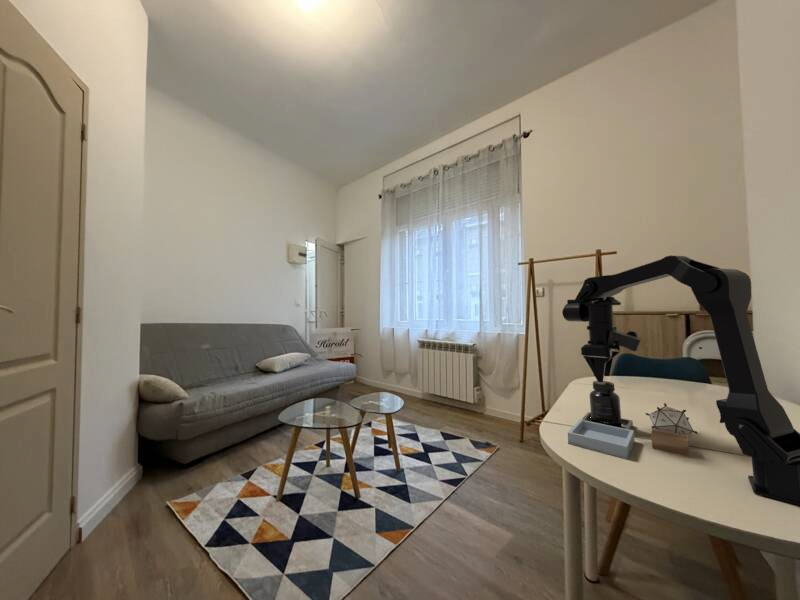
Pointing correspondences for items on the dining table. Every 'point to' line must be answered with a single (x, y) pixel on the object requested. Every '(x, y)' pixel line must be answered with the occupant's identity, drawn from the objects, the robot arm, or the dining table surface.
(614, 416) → the supplement bottle
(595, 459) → the dining table surface
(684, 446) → the block
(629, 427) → the grey square frame
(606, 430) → the parts tray
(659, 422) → the game die
